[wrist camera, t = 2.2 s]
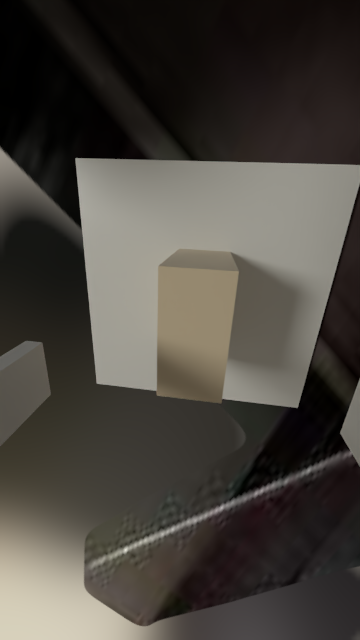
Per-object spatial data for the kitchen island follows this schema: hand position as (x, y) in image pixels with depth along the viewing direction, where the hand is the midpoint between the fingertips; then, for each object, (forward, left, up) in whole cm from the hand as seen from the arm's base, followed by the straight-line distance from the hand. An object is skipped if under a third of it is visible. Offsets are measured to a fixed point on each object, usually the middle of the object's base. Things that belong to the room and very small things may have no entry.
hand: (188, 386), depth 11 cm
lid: (0, 0, -13) cm, 13 cm away
